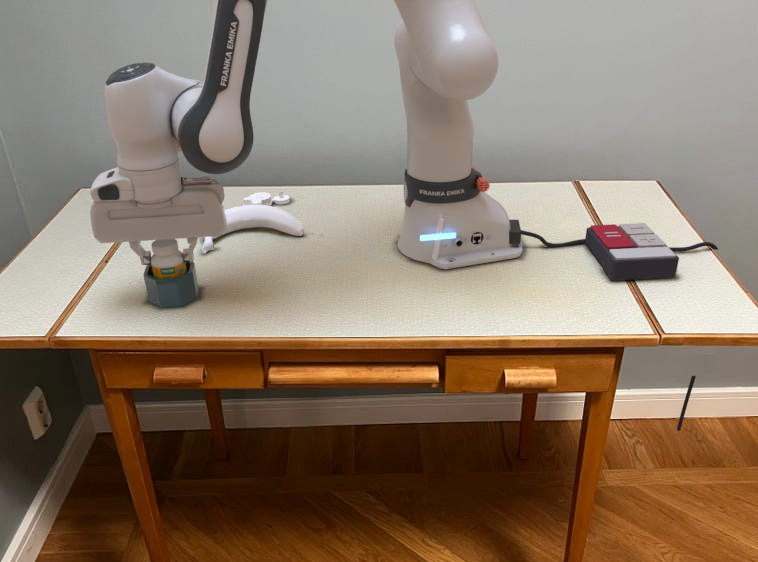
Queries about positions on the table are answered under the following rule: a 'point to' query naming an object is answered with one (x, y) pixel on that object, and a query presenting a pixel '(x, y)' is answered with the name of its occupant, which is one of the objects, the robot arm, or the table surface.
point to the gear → (265, 199)
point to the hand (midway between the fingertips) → (168, 262)
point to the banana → (257, 221)
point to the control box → (631, 252)
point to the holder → (172, 288)
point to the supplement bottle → (167, 259)
